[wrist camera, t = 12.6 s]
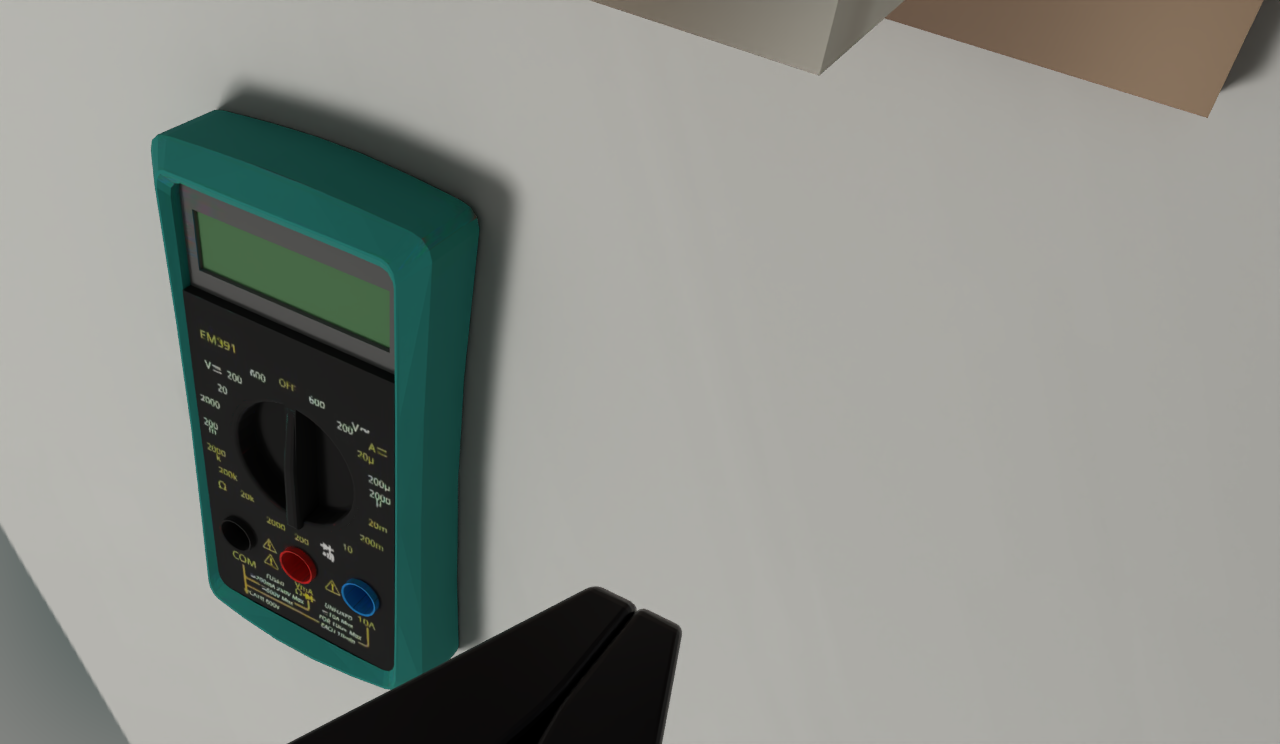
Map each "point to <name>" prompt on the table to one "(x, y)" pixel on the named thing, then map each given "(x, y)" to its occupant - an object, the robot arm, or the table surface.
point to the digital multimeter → (321, 386)
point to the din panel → (997, 35)
